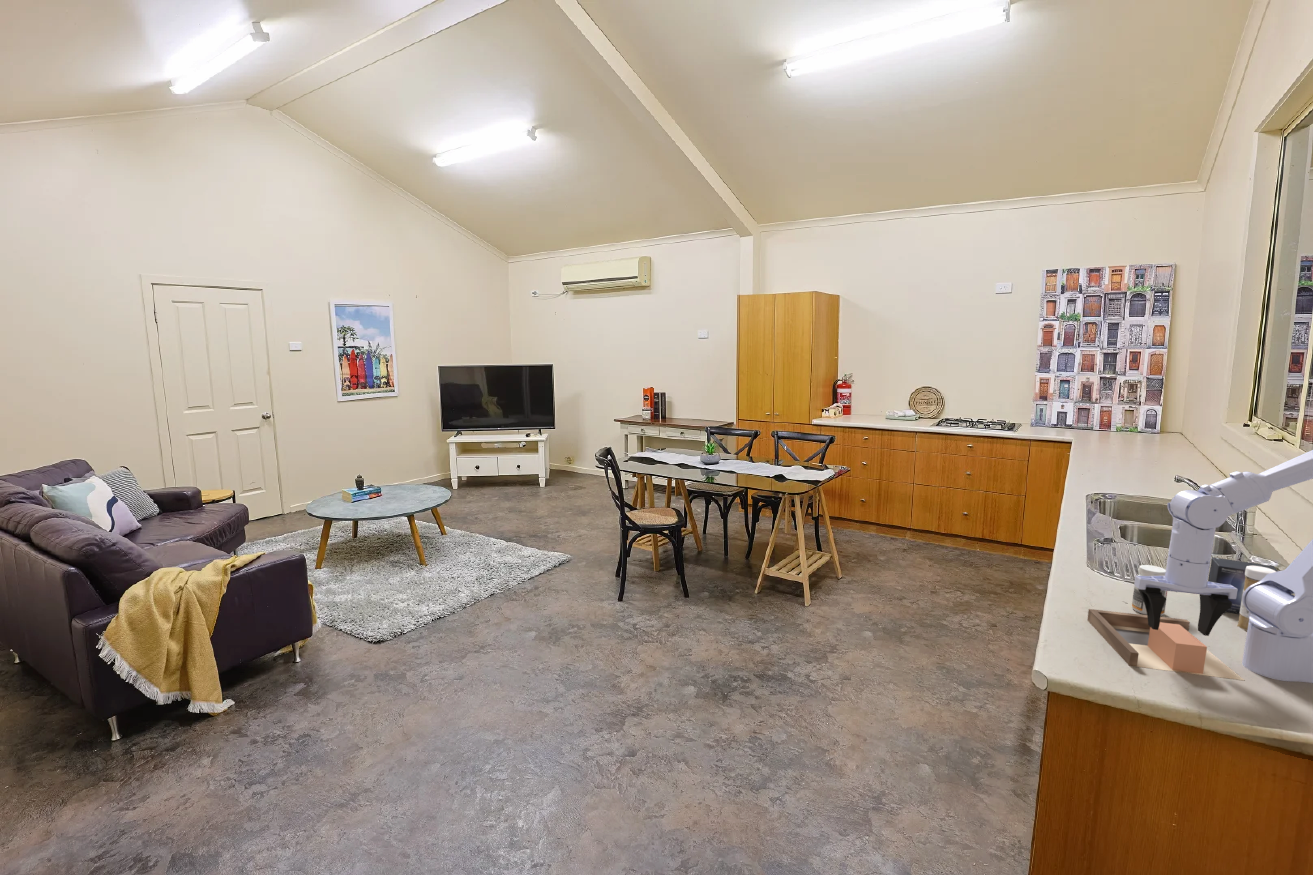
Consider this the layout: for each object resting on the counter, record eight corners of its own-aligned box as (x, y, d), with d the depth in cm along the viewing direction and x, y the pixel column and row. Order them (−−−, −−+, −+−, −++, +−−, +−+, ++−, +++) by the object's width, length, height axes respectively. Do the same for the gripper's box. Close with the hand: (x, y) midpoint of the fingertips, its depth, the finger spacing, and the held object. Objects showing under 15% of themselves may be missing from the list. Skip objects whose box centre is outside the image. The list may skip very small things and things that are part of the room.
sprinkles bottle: (1271, 634, 125) (1282, 570, 123) (1260, 638, 123) (1271, 574, 121) (1242, 624, 129) (1252, 563, 127) (1231, 628, 127) (1241, 566, 125)
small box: (1210, 610, 136) (1217, 564, 135) (1203, 599, 142) (1210, 556, 140) (1276, 621, 131) (1284, 574, 129) (1265, 610, 137) (1273, 565, 135)
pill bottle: (1165, 611, 135) (1171, 568, 134) (1162, 619, 131) (1169, 575, 130) (1132, 603, 139) (1138, 561, 138) (1129, 611, 135) (1135, 568, 134)
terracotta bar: (1147, 646, 117) (1151, 621, 117) (1175, 649, 116) (1179, 624, 115) (1172, 669, 109) (1176, 643, 108) (1202, 673, 108) (1207, 646, 107)
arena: (1184, 635, 124) (1186, 619, 123) (1244, 685, 106) (1247, 666, 105) (1086, 624, 128) (1088, 608, 128) (1128, 670, 110) (1130, 652, 110)
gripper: (1224, 555, 111) (1213, 626, 114) (1130, 547, 115) (1121, 615, 117) (1249, 568, 105) (1236, 643, 107) (1149, 559, 109) (1138, 632, 111)
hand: (1177, 630), depth 112 cm, fingers open, 7 cm apart
